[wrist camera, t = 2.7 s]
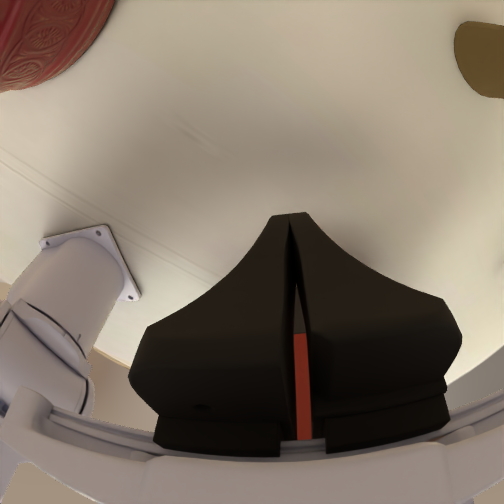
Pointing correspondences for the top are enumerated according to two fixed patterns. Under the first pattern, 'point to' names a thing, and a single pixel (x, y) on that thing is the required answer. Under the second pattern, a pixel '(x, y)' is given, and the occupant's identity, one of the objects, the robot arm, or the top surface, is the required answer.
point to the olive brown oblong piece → (481, 57)
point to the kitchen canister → (45, 37)
